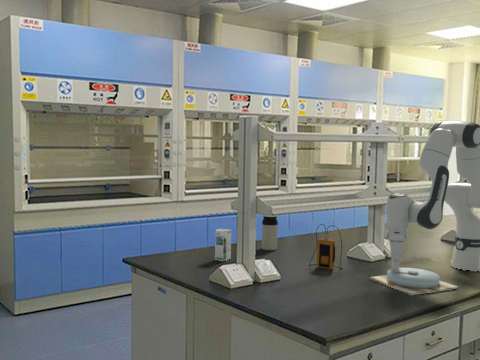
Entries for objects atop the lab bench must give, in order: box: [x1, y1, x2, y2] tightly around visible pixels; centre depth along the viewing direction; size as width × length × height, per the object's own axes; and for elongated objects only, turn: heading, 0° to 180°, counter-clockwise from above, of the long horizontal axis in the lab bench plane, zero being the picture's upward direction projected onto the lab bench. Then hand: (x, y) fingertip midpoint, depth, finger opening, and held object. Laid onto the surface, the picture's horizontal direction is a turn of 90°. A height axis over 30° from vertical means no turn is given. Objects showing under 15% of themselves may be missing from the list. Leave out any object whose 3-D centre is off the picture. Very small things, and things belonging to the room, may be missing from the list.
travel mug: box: [261, 215, 279, 252], centre depth 263 cm, size 8×8×18 cm
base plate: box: [369, 274, 459, 295], centre depth 204 cm, size 24×24×2 cm
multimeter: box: [308, 223, 343, 270], centre depth 229 cm, size 15×10×20 cm
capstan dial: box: [386, 259, 441, 288], centre depth 204 cm, size 20×20×9 cm
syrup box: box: [214, 228, 232, 262], centre depth 238 cm, size 6×6×14 cm
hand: (395, 265), depth 209 cm, fingers closed
